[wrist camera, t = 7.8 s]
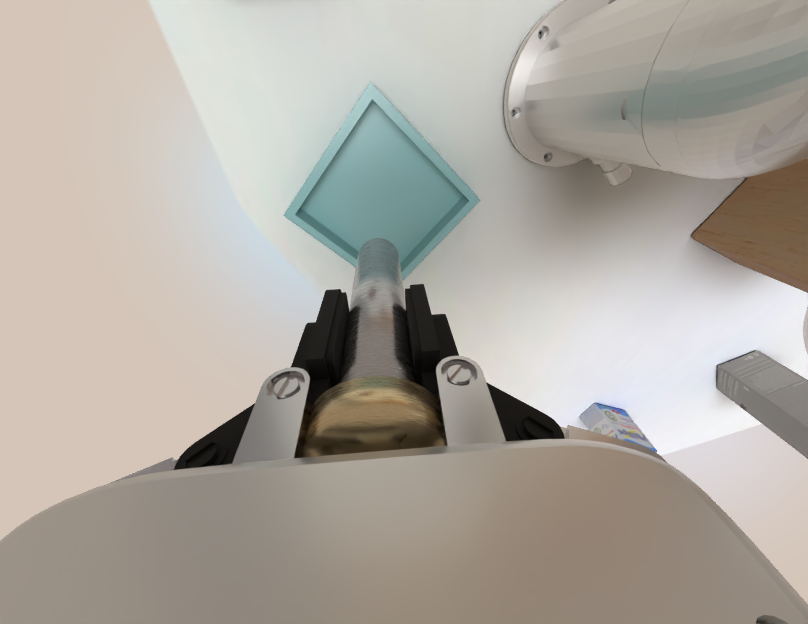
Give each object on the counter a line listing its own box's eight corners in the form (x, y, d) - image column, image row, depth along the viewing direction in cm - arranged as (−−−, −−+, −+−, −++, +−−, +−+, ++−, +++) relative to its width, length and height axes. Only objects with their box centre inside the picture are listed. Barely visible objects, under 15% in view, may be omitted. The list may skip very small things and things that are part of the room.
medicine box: (624, 409, 57) (659, 451, 50) (608, 422, 59) (639, 465, 52) (594, 401, 55) (626, 444, 47) (578, 415, 57) (606, 459, 50)
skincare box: (715, 364, 51) (831, 450, 38) (762, 346, 49) (901, 430, 36) (715, 390, 55) (818, 475, 42) (758, 374, 53) (880, 458, 40)
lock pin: (421, 255, 17) (481, 456, 7) (381, 294, 18) (384, 511, 8) (374, 213, 16) (365, 396, 5) (335, 260, 17) (269, 474, 7)
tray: (472, 193, 32) (480, 199, 29) (390, 280, 37) (391, 292, 34) (371, 84, 26) (370, 81, 23) (291, 207, 31) (283, 215, 29)
